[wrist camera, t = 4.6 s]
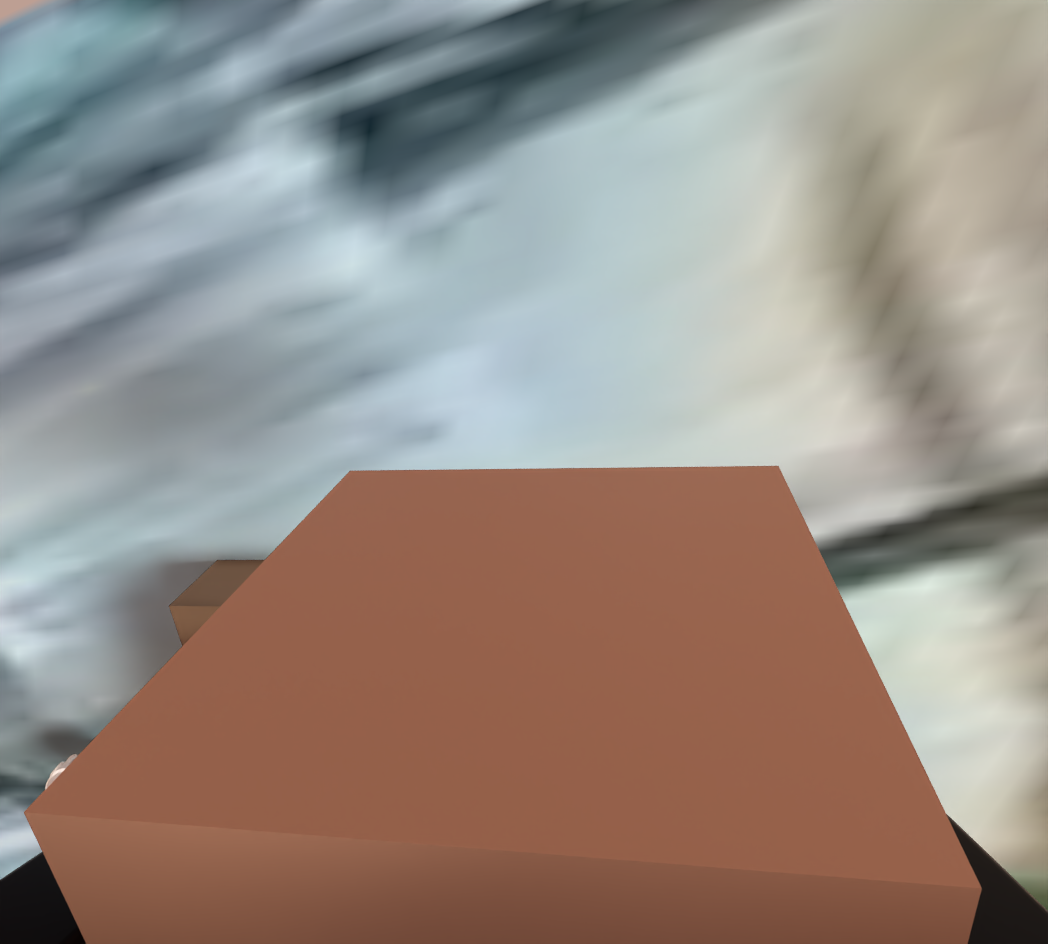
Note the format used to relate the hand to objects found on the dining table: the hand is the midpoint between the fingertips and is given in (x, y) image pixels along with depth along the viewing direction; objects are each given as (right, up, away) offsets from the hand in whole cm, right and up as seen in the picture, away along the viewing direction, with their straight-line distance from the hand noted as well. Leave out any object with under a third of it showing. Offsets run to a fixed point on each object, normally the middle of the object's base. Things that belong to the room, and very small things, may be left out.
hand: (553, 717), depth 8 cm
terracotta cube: (0, +1, +1) cm, 1 cm away
